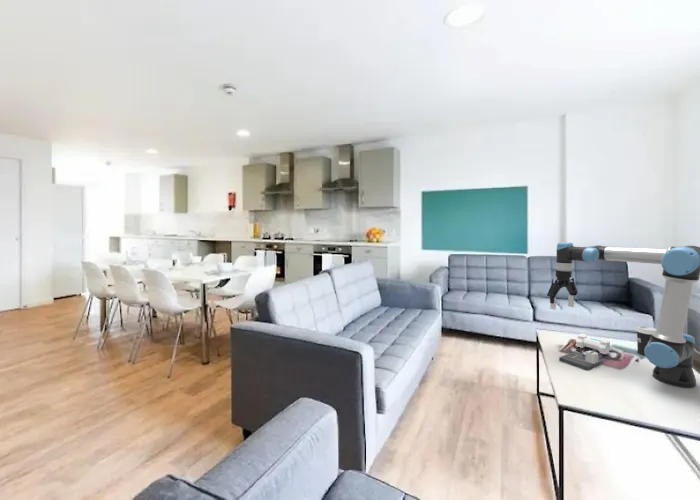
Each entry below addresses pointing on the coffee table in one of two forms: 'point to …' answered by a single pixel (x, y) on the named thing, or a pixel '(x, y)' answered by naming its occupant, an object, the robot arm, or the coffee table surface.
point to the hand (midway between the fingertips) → (561, 307)
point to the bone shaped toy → (593, 344)
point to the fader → (591, 357)
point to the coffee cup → (643, 338)
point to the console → (579, 360)
